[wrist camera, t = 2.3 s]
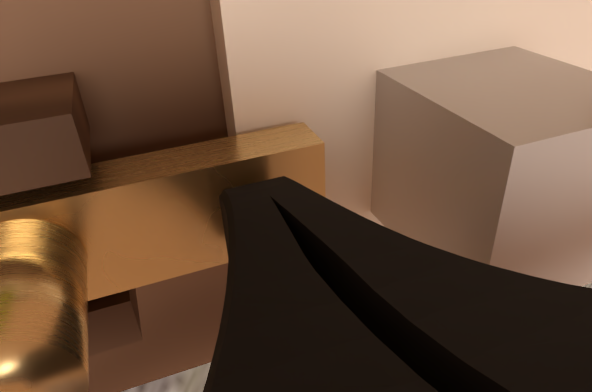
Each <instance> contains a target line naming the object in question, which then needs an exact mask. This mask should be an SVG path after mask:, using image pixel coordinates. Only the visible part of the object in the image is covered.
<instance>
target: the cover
mask: <svg viewBox="0 0 592 392" xmlns="http://www.w3.org/2000/svg"><path fill="white" fill-rule="evenodd" d="M210 6H211V13H212V21H213V28H214V36H215V43H216V50H217V58H218V65H219V73H220V80H221V88H222V95H223V103H224V110H225V118H226V125H227V132H228V137H230V136H235V135H240V134H245V133H250V132H255V131H260V130H265V129H270V128H275V127H280V126H285V125H290V124H295V123H301V122H304V123H305V124H306V125H307V126H308V127H309V128H310V129H311V130H312V131H313V132H314V133H315V134H316V135H317V136H318V137H319V138H320V139H321V140H322V141H323V142H324V143H325V196H326V198H327V199H329V200H331V201H333V202H335V203H337V204H339V205H341V206H343V207H345V208H347V209H349V210H351V211H353V212H355V213H357V214H359V215H361V216H363V217H365V218H367V219H369V220H371V221H373V222H375V223H377V224H380V225H382V226H384V227H386V228H389V229H391V230H393V231H396V232H398V233H400V234H403V235H405V236H407V237H410V238H412V239H415V240H417V241H420V242H422V243H425V244H428V245H430V246H433V247H436V248H439V249H442V250H445V251H448V252H451V253H454V254H457V255H459V256H462V257H465V258H468V259H472V260H475V261H478V262H482V263H485V264H488V265H492V266H496V267H500V268H504V269H507V270H511V271H515V272H519V273H523V274H526V275H530V276H534V277H538V278H543V279H547V280H552V281H556V282H561V283H565V284H570V285H576V286H583V285H586V284H588V283H591V282H592V0H210Z"/></svg>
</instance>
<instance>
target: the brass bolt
mask: <svg viewBox="0 0 592 392" xmlns="http://www.w3.org/2000/svg"><path fill="white" fill-rule="evenodd" d="M282 176H285V177H288V178H290V179H292V180H294V181H296V182H298V183H300V184H301V185H303V186H305V187H307V188H309V189H311V190H313V191H314V192H316V193H318V194H320V195H322V196H324V197H326V196H325V143H324V142H323V141H322V140H321V139H320V138H319V137H318V136H317V135H316V134H315V133H314V132H313V131H312V130H311V129H310V128H309V127H308V126H307V125H306V124H305V123H304V122H301V123H295V124H290V125H285V126H280V127H275V128H270V129H265V130H260V131H255V132H250V133H245V134H240V135H235V136H230V137H225V138H220V139H215V140H209V141H204V142H199V143H194V144H189V145H184V146H179V147H174V148H169V149H164V150H159V151H154V152H149V153H144V154H139V155H134V156H129V157H124V158H118V159H113V160H108V161H103V162H98V163H93V164H91V177H90V178H85V179H80V180H75V181H70V182H66V183H61V184H56V185H51V186H46V187H41V188H36V189H31V190H27V191H22V192H17V193H12V194H7V195H2V196H0V392H88V389H89V362H88V301H90V300H93V299H97V298H101V297H104V296H108V295H112V294H116V293H119V292H123V291H127V290H130V289H134V288H138V287H141V286H145V285H149V284H152V283H156V282H160V281H163V280H167V279H171V278H174V277H178V276H182V275H185V274H189V273H193V272H196V271H200V270H204V269H207V268H211V267H215V266H218V265H222V264H226V263H228V260H229V259H228V253H227V246H226V239H225V233H224V226H223V220H222V213H221V207H220V200H219V195H220V194H221V193H222V191H223V190H224V189H229V188H233V187H238V186H242V185H246V184H251V183H255V182H260V181H264V180H269V179H273V178H277V177H282Z"/></svg>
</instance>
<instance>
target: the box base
mask: <svg viewBox="0 0 592 392" xmlns="http://www.w3.org/2000/svg"><path fill="white" fill-rule="evenodd" d="M225 137H228V132H227V125H226V118H225V110H224V103H223V95H222V88H221V80H220V73H219V65H218V58H217V50H216V43H215V36H214V28H213V21H212V13H211V6H210V0H0V196H2V195H7V194H12V193H17V192H22V191H27V190H31V189H36V188H41V187H46V186H51V185H56V184H61V183H66V182H70V181H75V180H80V179H85V178H90V177H91V164H93V163H98V162H103V161H108V160H113V159H118V158H124V157H129V156H134V155H139V154H144V153H149V152H154V151H159V150H164V149H169V148H174V147H179V146H184V145H189V144H194V143H199V142H204V141H209V140H215V139H220V138H225ZM227 272H228V263H226V264H222V265H218V266H215V267H211V268H207V269H204V270H200V271H196V272H193V273H189V274H185V275H182V276H178V277H174V278H171V279H167V280H163V281H160V282H156V283H152V284H149V285H145V286H141V287H138V288H134V289H130V290H127V291H123V292H119V293H116V294H112V295H108V296H104V297H101V298H97V299H93V300H90V301H88V362H89V389H88V392H121V391H124V390H127V389H130V388H133V387H136V386H139V385H142V384H145V383H148V382H151V381H154V380H157V379H160V378H163V377H166V376H169V375H173V374H176V373H179V372H182V371H185V370H188V369H191V368H194V367H197V366H200V365H203V364H206V363H209V362H212V358H213V354H214V349H215V345H216V341H217V337H218V333H219V328H220V323H221V317H222V312H223V306H224V299H225V292H226V284H227Z"/></svg>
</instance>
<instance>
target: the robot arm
mask: <svg viewBox="0 0 592 392" xmlns="http://www.w3.org/2000/svg"><path fill="white" fill-rule="evenodd" d="M219 200H220V207H221V213H222V220H223V226H224V233H225V239H226V246H227V253H228V259H229V260H228V272H227V284H226V292H225V299H224V306H223V312H222V317H221V323H220V328H219V333H218V337H217V341H216V345H215V349H214V354H213V358H212V362H211V366H210V370H209V373H208V377H207V380H206V384H205V387H204V391H203V392H592V289H591V288H586V287H581V286H576V285H570V284H565V283H561V282H556V281H552V280H547V279H543V278H538V277H534V276H530V275H526V274H523V273H519V272H515V271H511V270H507V269H504V268H500V267H496V266H492V265H488V264H485V263H482V262H478V261H475V260H472V259H468V258H465V257H462V256H459V255H457V254H454V253H451V252H448V251H445V250H442V249H439V248H436V247H433V246H430V245H428V244H425V243H422V242H420V241H417V240H415V239H412V238H410V237H407V236H405V235H403V234H400V233H398V232H396V231H393V230H391V229H389V228H386V227H384V226H382V225H380V224H377V223H375V222H373V221H371V220H369V219H367V218H365V217H363V216H361V215H359V214H357V213H355V212H353V211H351V210H349V209H347V208H345V207H343V206H341V205H339V204H337V203H335V202H333V201H331V200H329V199H327V198H326V197H324V196H322V195H320V194H318V193H316V192H314V191H313V190H311V189H309V188H307V187H305V186H303V185H301V184H300V183H298V182H296V181H294V180H292V179H290V178H288V177H285V176H282V177H277V178H273V179H269V180H264V181H260V182H255V183H251V184H246V185H242V186H238V187H233V188H229V189H224V190H223V191H222V193H221V194H220V195H219Z"/></svg>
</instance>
